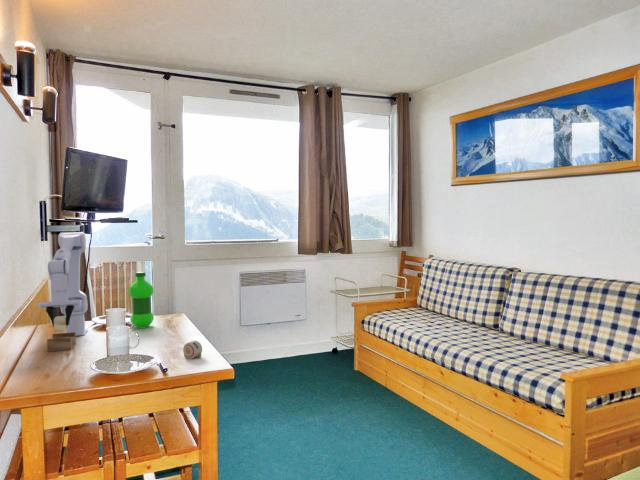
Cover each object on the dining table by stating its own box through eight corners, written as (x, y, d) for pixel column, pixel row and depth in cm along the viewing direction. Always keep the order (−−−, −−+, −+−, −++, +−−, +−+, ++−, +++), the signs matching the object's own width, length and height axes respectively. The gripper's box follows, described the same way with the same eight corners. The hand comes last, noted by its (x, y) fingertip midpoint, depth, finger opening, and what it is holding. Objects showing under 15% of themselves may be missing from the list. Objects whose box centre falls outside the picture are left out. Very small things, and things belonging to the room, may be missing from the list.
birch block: (56, 329, 192) (56, 316, 192) (68, 328, 193) (67, 315, 193) (54, 331, 188) (53, 318, 188) (65, 330, 190) (65, 317, 189)
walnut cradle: (53, 345, 195) (53, 333, 195) (75, 343, 197) (75, 332, 197) (47, 351, 185) (46, 339, 185) (70, 349, 188) (70, 337, 188)
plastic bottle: (130, 325, 228) (128, 271, 227) (154, 323, 232) (152, 270, 230) (129, 330, 219) (127, 274, 218) (154, 328, 222) (152, 272, 221)
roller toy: (195, 360, 170) (195, 343, 170) (181, 358, 173) (180, 342, 172) (203, 357, 174) (203, 340, 174) (189, 355, 177) (188, 339, 176)
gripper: (35, 293, 184) (37, 329, 185) (78, 290, 189) (79, 326, 189) (40, 290, 191) (42, 325, 192) (81, 288, 195) (82, 322, 196)
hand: (61, 325), depth 191 cm, fingers closed on birch block, 4 cm apart
